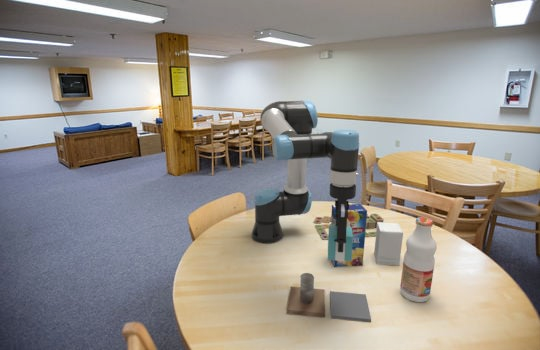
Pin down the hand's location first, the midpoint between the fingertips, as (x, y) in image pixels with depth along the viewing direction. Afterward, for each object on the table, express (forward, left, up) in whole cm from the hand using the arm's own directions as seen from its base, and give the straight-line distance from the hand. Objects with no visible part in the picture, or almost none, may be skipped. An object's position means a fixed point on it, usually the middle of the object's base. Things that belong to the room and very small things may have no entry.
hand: (339, 253), depth 96 cm
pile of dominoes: (+9, +64, -20) cm, 67 cm away
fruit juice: (+27, +10, -20) cm, 35 cm away
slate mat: (+4, 0, -20) cm, 20 cm away
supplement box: (+22, +32, -20) cm, 44 cm away
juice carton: (+5, +28, -20) cm, 35 cm away
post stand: (-10, 0, -20) cm, 22 cm away
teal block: (0, 0, 0) cm, 0 cm away
